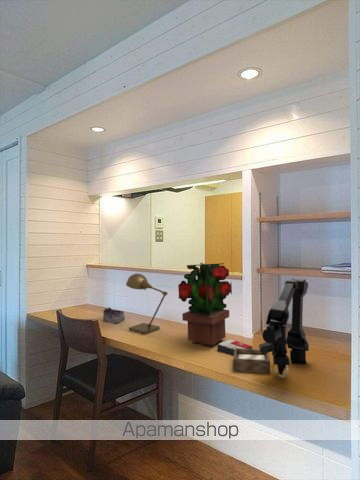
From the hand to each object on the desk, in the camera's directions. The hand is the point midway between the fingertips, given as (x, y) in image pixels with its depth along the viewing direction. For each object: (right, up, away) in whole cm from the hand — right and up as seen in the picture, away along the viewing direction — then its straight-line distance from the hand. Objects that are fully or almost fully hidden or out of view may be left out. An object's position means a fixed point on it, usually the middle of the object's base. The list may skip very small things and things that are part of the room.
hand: (280, 372), depth 141 cm
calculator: (-14, -2, +33) cm, 36 cm away
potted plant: (-27, -2, +48) cm, 55 cm away
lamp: (-63, -2, +72) cm, 96 cm away
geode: (-93, -3, +101) cm, 137 cm away
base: (-9, -2, +13) cm, 16 cm away
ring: (0, -2, 0) cm, 2 cm away
